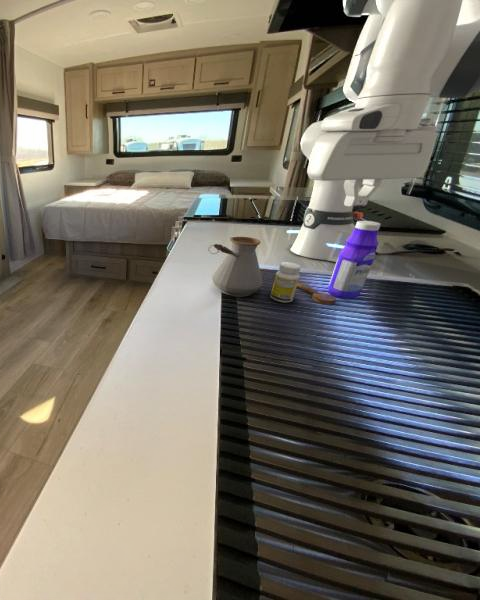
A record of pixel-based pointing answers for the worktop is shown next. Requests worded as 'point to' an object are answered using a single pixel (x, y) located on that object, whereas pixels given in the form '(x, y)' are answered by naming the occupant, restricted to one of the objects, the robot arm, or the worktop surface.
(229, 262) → the coffee pot
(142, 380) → the worktop surface
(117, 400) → the worktop surface
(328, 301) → the wooden spoon
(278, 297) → the supplement bottle
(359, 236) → the bottle
